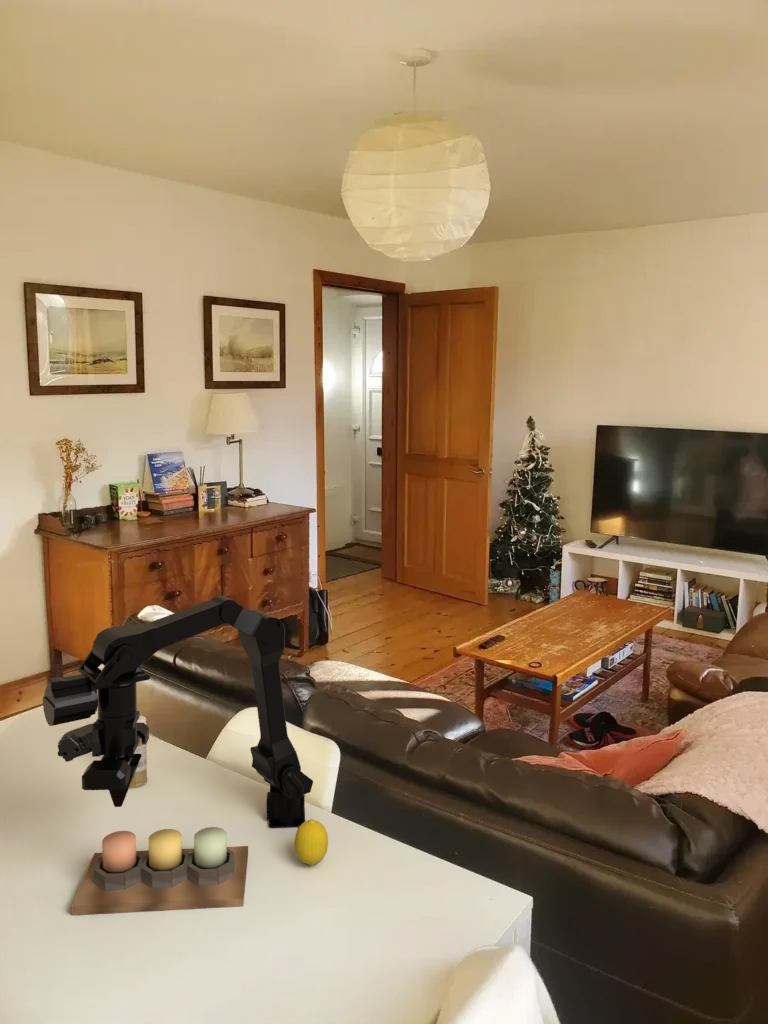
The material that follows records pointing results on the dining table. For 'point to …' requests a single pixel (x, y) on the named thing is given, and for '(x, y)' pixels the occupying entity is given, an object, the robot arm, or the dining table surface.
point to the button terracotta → (119, 851)
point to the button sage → (210, 847)
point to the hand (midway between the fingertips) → (118, 805)
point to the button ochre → (165, 849)
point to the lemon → (311, 842)
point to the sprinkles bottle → (140, 762)
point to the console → (163, 885)
